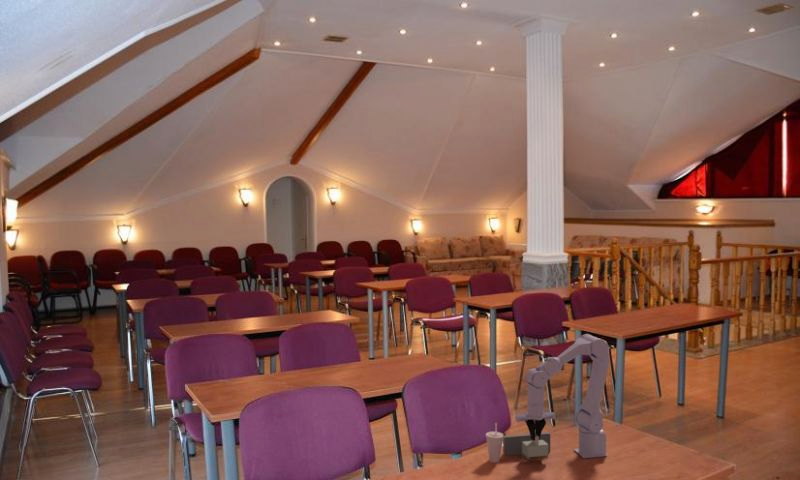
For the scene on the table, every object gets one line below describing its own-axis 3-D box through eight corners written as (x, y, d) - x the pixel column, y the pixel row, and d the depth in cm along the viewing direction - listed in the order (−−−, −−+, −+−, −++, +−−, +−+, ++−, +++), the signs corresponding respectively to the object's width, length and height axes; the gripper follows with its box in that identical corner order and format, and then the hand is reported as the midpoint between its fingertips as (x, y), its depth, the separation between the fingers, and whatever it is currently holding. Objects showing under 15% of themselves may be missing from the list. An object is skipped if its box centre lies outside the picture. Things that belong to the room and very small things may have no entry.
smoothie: (502, 464, 244) (503, 426, 243) (484, 463, 245) (484, 425, 244) (503, 457, 250) (503, 420, 249) (486, 456, 252) (486, 419, 250)
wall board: (548, 450, 257) (548, 432, 256) (553, 454, 252) (553, 436, 252) (503, 454, 253) (503, 436, 253) (507, 459, 249) (507, 440, 248)
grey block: (542, 453, 250) (542, 431, 249) (548, 458, 245) (548, 436, 244) (522, 455, 248) (522, 433, 248) (527, 460, 243) (527, 438, 243)
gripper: (520, 407, 240) (520, 445, 241) (559, 404, 242) (558, 441, 244) (513, 401, 246) (512, 437, 248) (550, 398, 249) (550, 434, 251)
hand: (535, 439), depth 246 cm, fingers closed on grey block
